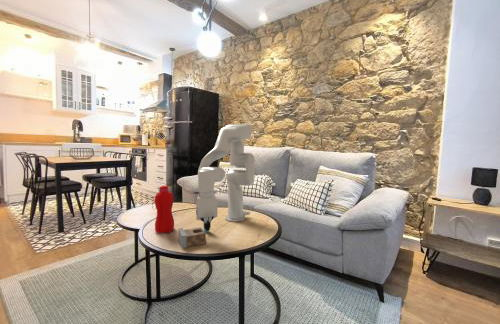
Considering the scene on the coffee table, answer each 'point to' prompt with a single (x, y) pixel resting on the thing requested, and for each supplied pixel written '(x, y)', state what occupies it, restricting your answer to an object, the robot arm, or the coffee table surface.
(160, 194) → the water bottle
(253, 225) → the coffee table surface
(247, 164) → the robot arm
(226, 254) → the coffee table surface
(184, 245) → the wall
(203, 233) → the block
